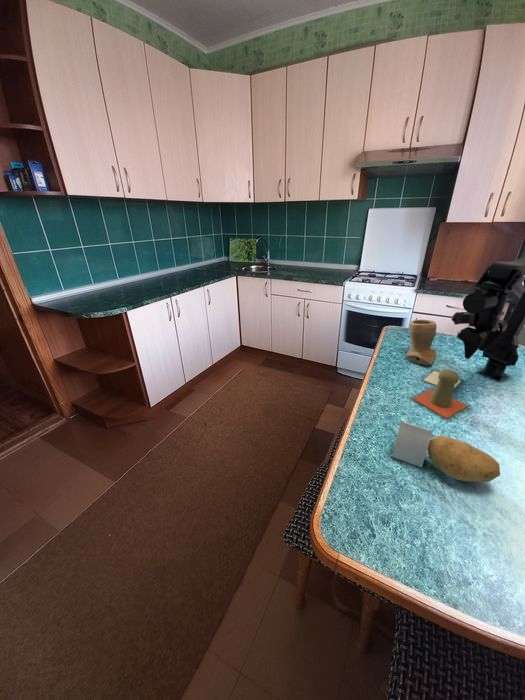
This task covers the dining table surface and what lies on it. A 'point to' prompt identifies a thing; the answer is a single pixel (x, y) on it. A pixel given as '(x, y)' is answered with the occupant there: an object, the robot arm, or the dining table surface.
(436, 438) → the potato
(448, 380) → the cork
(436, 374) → the cream mat
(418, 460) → the grey rectangular block
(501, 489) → the dining table surface
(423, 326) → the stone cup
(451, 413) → the terracotta mat
